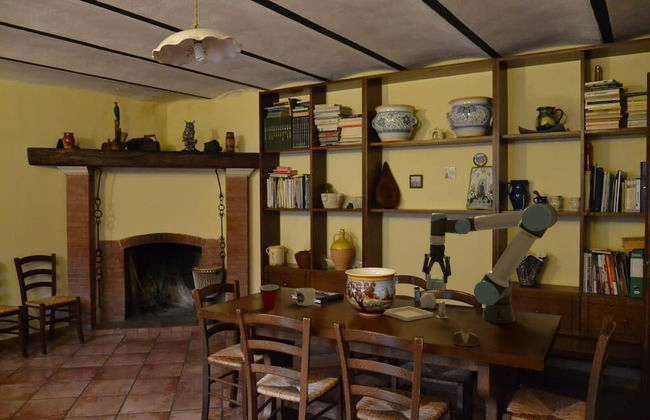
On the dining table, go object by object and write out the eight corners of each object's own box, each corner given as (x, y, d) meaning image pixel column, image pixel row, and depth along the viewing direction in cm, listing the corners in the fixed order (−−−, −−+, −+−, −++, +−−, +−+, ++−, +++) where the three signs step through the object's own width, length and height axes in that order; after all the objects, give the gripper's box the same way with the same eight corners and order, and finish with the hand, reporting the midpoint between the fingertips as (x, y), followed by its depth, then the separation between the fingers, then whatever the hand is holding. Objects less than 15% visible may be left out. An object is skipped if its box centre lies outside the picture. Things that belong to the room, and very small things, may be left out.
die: (438, 308, 284) (430, 292, 288) (440, 303, 276) (431, 287, 281) (424, 314, 283) (416, 298, 288) (425, 309, 275) (417, 293, 280)
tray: (433, 316, 262) (433, 312, 262) (406, 321, 252) (406, 317, 252) (409, 309, 277) (409, 306, 277) (383, 314, 267) (383, 310, 267)
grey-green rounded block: (433, 285, 268) (433, 277, 267) (447, 288, 262) (448, 280, 261) (421, 288, 260) (422, 280, 260) (436, 290, 254) (436, 282, 254)
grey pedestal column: (450, 317, 260) (450, 302, 260) (441, 319, 257) (442, 303, 257) (441, 315, 265) (441, 300, 265) (433, 316, 262) (433, 301, 262)
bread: (450, 346, 214) (450, 334, 214) (454, 338, 225) (454, 327, 225) (478, 349, 210) (478, 337, 210) (480, 341, 221) (481, 330, 221)
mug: (318, 303, 293) (318, 289, 293) (308, 306, 284) (308, 292, 284) (299, 300, 300) (299, 286, 300) (288, 303, 291) (288, 289, 291)
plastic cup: (254, 308, 278) (254, 287, 278) (267, 305, 288) (267, 283, 287) (271, 311, 273) (270, 289, 272) (282, 307, 282) (282, 285, 282)
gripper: (460, 245, 256) (458, 290, 257) (424, 241, 271) (422, 283, 272) (452, 246, 250) (450, 292, 252) (415, 242, 265) (414, 285, 266)
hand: (436, 288), depth 262 cm, fingers closed on grey-green rounded block, 8 cm apart
